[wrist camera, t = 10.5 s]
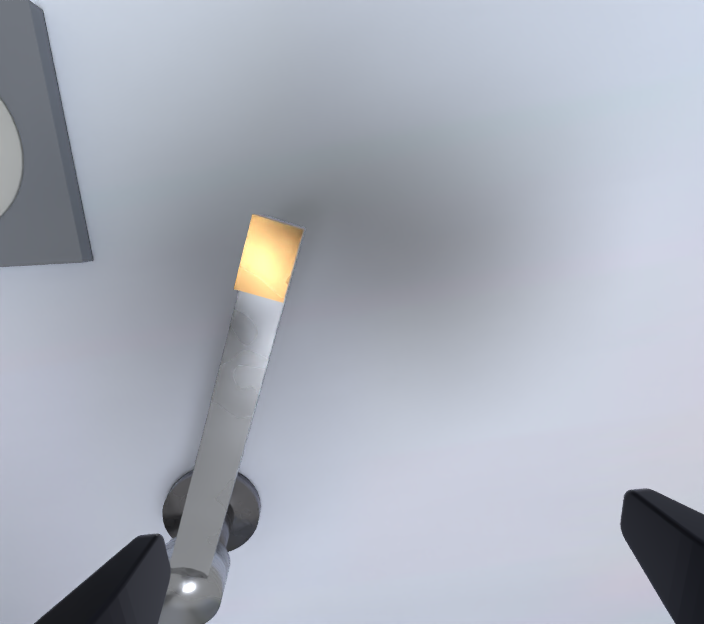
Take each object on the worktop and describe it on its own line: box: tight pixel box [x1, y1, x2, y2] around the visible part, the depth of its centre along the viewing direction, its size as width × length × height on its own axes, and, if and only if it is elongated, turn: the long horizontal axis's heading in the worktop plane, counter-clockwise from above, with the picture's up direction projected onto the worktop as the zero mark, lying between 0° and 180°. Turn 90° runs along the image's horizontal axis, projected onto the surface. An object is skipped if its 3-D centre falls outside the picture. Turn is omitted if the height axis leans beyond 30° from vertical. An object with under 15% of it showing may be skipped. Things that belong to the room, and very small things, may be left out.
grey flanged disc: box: [163, 471, 261, 552], centre depth 20 cm, size 5×5×3 cm
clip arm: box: [158, 214, 306, 624], centre depth 15 cm, size 18×3×3 cm, turn 163°
